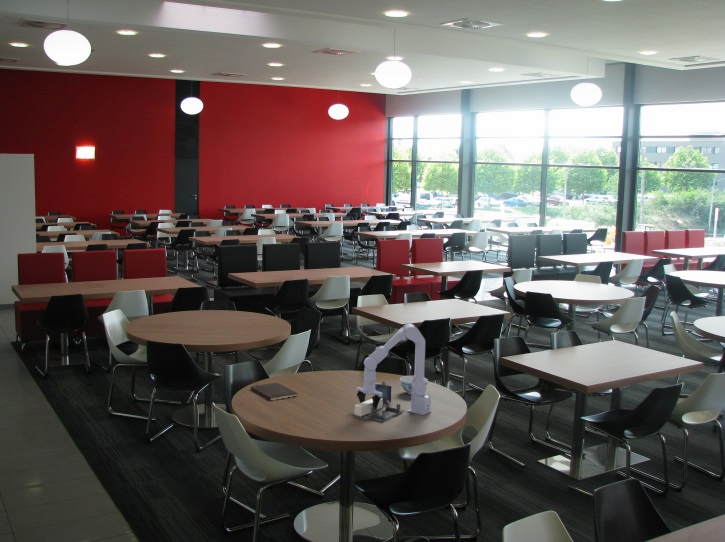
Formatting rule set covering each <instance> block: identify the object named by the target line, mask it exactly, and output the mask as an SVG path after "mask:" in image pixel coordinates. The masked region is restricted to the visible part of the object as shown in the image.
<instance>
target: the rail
mask: <svg viewBox="0 0 725 542" xmlns="http://www.w3.org/2000/svg"><path fill="white" fill-rule="evenodd" d="M383 404H384V402H383V399H382V398H381V399H380V401H379V403H378V406H377V410H376V411H378V410H381V409H383ZM371 407H373V400H372V398H370V399H368V400H365V401H364V402H362V403H360V402H358V403H357V404H355V405H354V413H353V414H354V415H355V416H359V417H363V416H366V415H368V414H371ZM380 408H381V409H380Z"/></svg>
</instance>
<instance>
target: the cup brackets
mask: <svg viewBox="0 0 725 542" xmlns="http://www.w3.org/2000/svg"><path fill="white" fill-rule="evenodd" d="M389 402H390V401H386V402H385V408H384V409H382V410H379V411H378V412H376V411H375V407H371V413H370V414H369V415H368V416H366V419H368V420H371V421H373V422H378V423H383V422H385V421H387V420H389V418H390V419H391V417H392V418H393V416H394V417H396V416H398V415H400V413H401V414H403V413H404V412H405V410H402V409H401V403H400V402H398V403H396V406H392V405H390V403H391V402H390V403H389ZM402 412H403V413H402Z"/></svg>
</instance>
